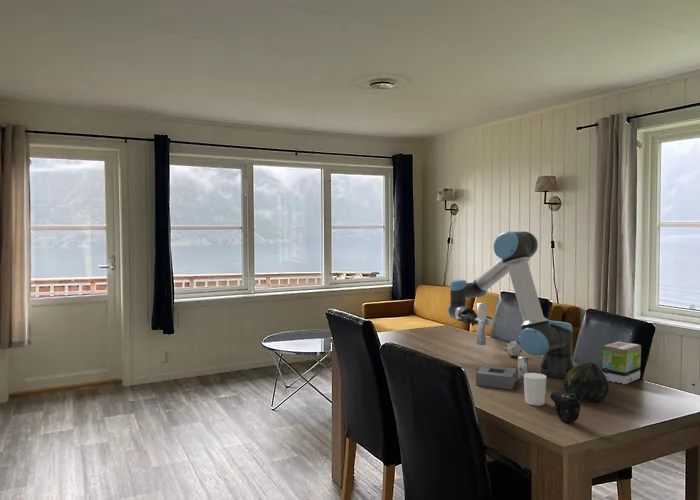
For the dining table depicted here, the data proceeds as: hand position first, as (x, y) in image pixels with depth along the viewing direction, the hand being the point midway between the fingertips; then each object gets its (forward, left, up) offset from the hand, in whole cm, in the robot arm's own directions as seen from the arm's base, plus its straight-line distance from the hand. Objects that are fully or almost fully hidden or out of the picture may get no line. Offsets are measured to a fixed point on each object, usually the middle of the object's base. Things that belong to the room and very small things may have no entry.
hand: (486, 323), depth 227 cm
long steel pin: (+3, -4, -10) cm, 11 cm away
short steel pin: (-15, -4, -23) cm, 27 cm away
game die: (-6, -42, -23) cm, 49 cm away
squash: (-40, +16, -23) cm, 48 cm away
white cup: (-23, +28, -23) cm, 43 cm away
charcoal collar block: (-6, +8, -23) cm, 25 cm away
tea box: (-53, -19, -23) cm, 61 cm away
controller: (-34, +43, -23) cm, 59 cm away
